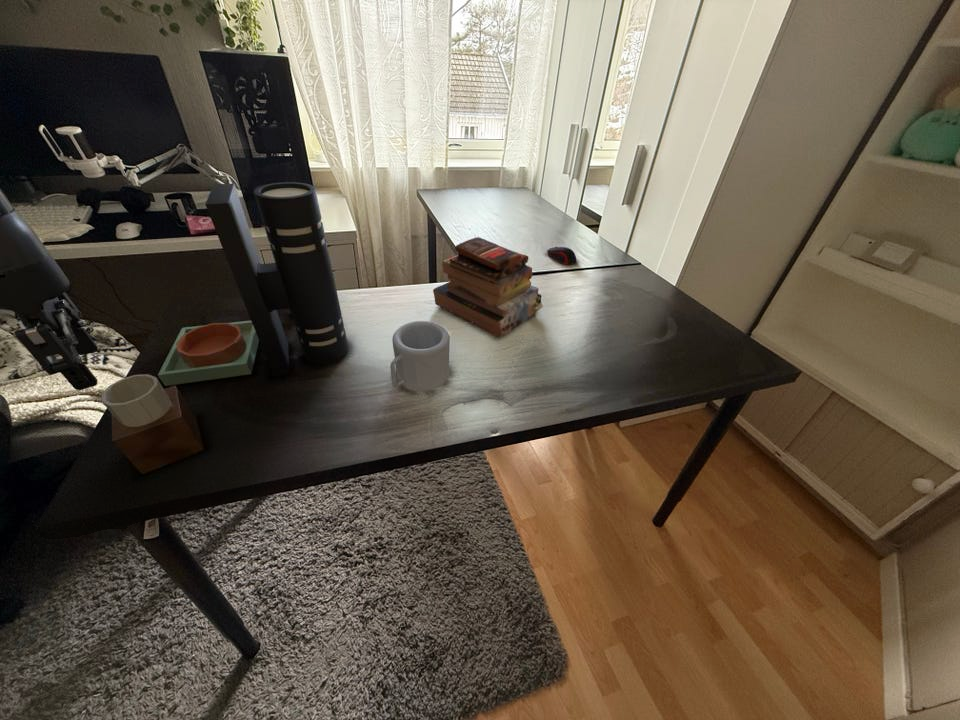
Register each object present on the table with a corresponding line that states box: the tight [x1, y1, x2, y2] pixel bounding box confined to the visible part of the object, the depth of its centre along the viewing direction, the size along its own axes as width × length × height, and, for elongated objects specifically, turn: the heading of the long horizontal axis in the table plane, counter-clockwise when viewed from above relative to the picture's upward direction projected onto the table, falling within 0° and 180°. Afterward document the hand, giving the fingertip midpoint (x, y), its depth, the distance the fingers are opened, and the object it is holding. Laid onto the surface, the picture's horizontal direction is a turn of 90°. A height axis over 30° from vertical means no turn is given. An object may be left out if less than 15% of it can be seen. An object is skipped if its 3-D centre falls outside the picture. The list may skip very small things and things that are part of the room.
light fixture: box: [204, 181, 350, 378], centre depth 69 cm, size 10×15×33 cm
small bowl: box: [100, 373, 171, 427], centre depth 54 cm, size 6×6×4 cm
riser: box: [111, 385, 205, 475], centre depth 58 cm, size 8×8×8 cm
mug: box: [390, 320, 451, 392], centre depth 73 cm, size 14×11×10 cm
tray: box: [157, 320, 260, 387], centre depth 77 cm, size 16×15×3 cm
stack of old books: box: [432, 236, 544, 339], centre depth 92 cm, size 23×18×17 cm
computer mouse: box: [546, 246, 577, 265], centre depth 125 cm, size 6×11×4 cm, turn 32°
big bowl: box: [176, 322, 246, 368], centre depth 76 cm, size 11×11×4 cm
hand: (88, 368), depth 51 cm, fingers open, 8 cm apart
